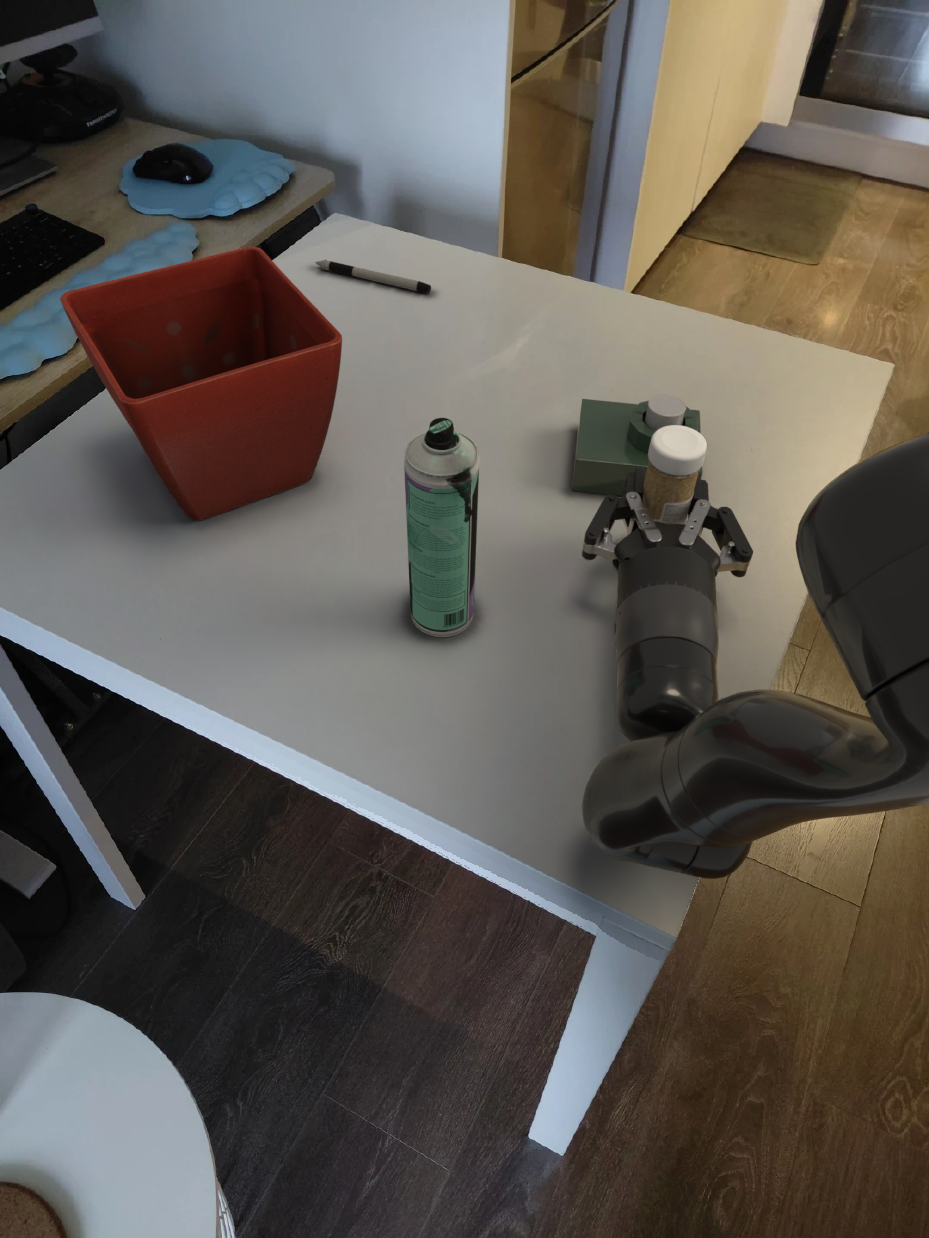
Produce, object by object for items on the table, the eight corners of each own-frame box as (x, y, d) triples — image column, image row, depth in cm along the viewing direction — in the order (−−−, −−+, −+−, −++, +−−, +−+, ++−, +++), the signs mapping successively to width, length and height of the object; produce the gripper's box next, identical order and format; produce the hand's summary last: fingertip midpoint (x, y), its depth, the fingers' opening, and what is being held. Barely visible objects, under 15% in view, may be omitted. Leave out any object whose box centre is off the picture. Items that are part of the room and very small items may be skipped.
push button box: (691, 441, 95) (704, 393, 90) (693, 504, 88) (707, 455, 83) (577, 430, 96) (584, 381, 91) (571, 491, 89) (578, 442, 84)
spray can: (485, 606, 79) (495, 417, 64) (451, 647, 76) (453, 458, 61) (433, 581, 81) (430, 392, 65) (398, 620, 77) (387, 431, 62)
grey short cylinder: (681, 413, 88) (685, 395, 87) (682, 435, 86) (686, 418, 85) (644, 409, 89) (648, 392, 87) (644, 432, 86) (647, 414, 85)
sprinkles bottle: (619, 545, 84) (643, 426, 74) (664, 537, 85) (694, 419, 75) (637, 579, 81) (664, 461, 71) (684, 571, 82) (718, 452, 72)
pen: (427, 296, 113) (427, 286, 112) (312, 269, 117) (311, 259, 116) (432, 291, 114) (432, 281, 113) (317, 264, 118) (316, 255, 117)
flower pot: (360, 489, 89) (347, 336, 76) (173, 559, 82) (123, 404, 69) (281, 391, 99) (257, 242, 87) (109, 446, 92) (55, 293, 80)
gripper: (775, 599, 65) (758, 452, 76) (577, 576, 66) (589, 435, 77) (749, 664, 70) (736, 518, 82) (567, 642, 72) (579, 501, 83)
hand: (665, 478), depth 79 cm, fingers closed on sprinkles bottle, 4 cm apart
